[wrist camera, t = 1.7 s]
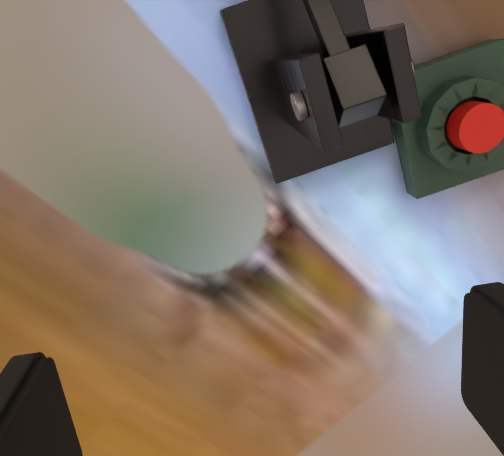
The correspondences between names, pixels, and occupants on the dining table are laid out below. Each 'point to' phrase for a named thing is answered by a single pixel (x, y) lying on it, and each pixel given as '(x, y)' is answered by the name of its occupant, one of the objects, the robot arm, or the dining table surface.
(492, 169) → the console
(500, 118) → the button
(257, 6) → the lever bracket
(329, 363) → the dining table surface
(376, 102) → the press lever
